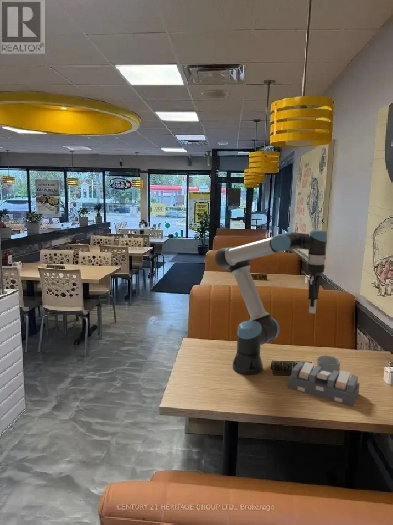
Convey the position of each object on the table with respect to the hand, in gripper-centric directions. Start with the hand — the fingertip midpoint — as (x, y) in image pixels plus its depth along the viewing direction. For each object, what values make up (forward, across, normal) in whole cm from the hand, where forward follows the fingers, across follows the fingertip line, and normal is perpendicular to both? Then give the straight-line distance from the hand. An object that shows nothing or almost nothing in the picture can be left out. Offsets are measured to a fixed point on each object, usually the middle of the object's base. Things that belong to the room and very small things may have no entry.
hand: (312, 312), depth 180 cm
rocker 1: (+25, -10, -2) cm, 27 cm away
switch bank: (+32, -10, -10) cm, 35 cm away
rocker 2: (+25, -10, -10) cm, 28 cm away
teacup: (+33, +10, -7) cm, 35 cm away
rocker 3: (+25, -10, -18) cm, 32 cm away
